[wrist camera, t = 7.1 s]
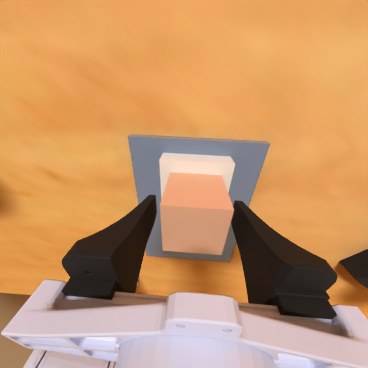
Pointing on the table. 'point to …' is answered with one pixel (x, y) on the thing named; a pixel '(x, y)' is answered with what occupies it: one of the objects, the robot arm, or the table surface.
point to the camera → (358, 266)
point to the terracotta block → (195, 213)
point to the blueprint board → (194, 145)
